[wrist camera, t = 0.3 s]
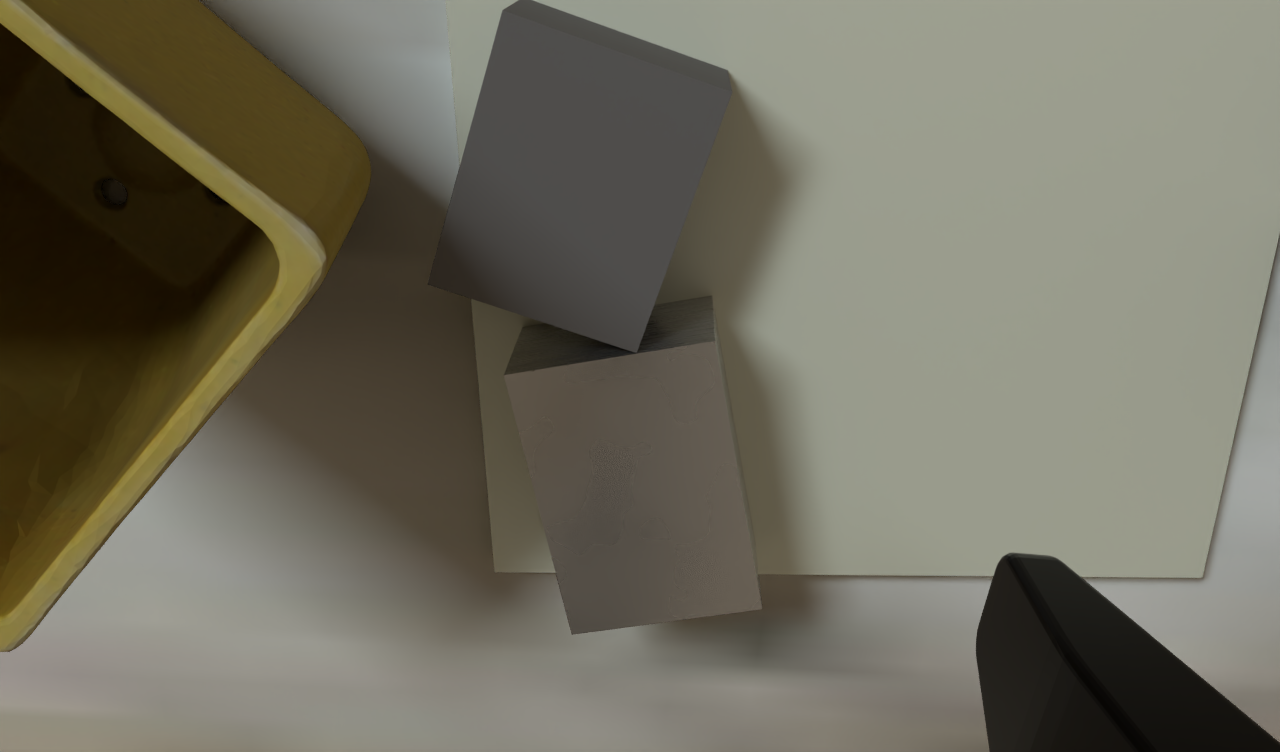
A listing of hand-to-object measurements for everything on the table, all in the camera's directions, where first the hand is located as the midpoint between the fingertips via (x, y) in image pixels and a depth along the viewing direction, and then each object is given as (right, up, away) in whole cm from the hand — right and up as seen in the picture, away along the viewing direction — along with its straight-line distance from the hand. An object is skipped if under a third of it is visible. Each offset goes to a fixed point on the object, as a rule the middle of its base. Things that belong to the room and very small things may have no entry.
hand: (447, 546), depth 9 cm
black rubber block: (+1, +6, +12) cm, 14 cm away
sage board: (+6, +4, +14) cm, 15 cm away
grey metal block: (+2, 0, +15) cm, 15 cm away
